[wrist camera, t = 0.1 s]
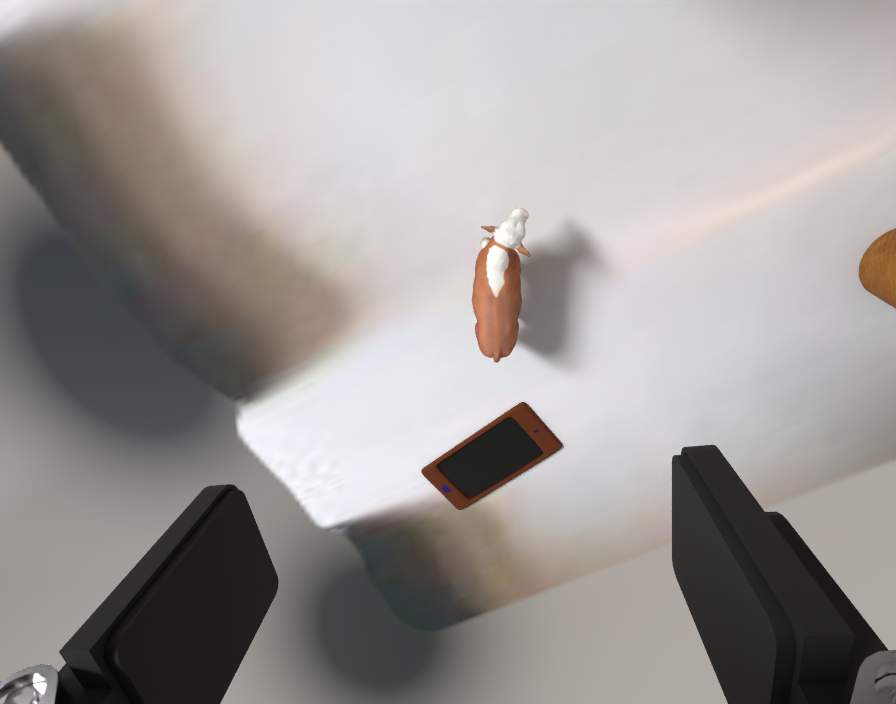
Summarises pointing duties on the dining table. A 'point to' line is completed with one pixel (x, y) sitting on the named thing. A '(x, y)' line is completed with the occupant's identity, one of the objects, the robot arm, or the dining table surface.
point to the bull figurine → (499, 286)
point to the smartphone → (492, 456)
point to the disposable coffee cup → (880, 268)
